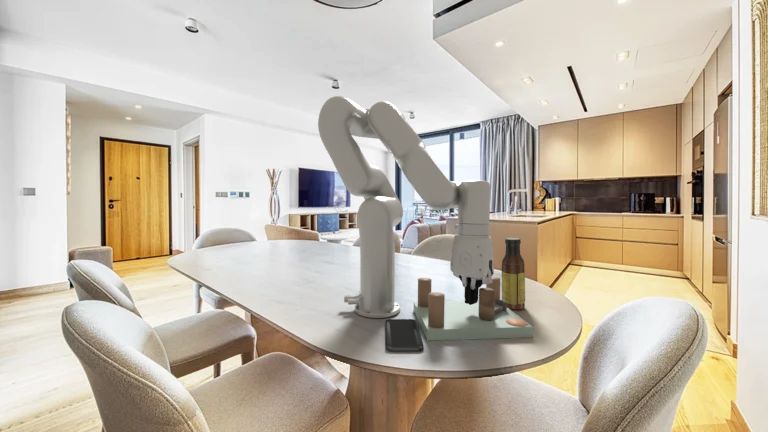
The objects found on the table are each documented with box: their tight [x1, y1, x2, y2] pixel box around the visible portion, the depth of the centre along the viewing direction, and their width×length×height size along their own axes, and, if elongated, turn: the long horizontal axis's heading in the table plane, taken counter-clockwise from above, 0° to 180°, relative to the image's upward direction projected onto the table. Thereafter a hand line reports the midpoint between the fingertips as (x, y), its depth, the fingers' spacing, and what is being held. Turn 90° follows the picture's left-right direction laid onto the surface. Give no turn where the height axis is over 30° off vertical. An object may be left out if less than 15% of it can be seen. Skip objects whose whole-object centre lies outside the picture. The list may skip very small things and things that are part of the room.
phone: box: [385, 318, 425, 353], centre depth 70 cm, size 8×1×15 cm
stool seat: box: [413, 276, 534, 341], centre depth 77 cm, size 24×18×9 cm
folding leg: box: [478, 287, 507, 320], centre depth 76 cm, size 11×4×7 cm, turn 135°
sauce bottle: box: [501, 237, 526, 311], centre depth 88 cm, size 7×6×20 cm
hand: (471, 302), depth 77 cm, fingers closed
